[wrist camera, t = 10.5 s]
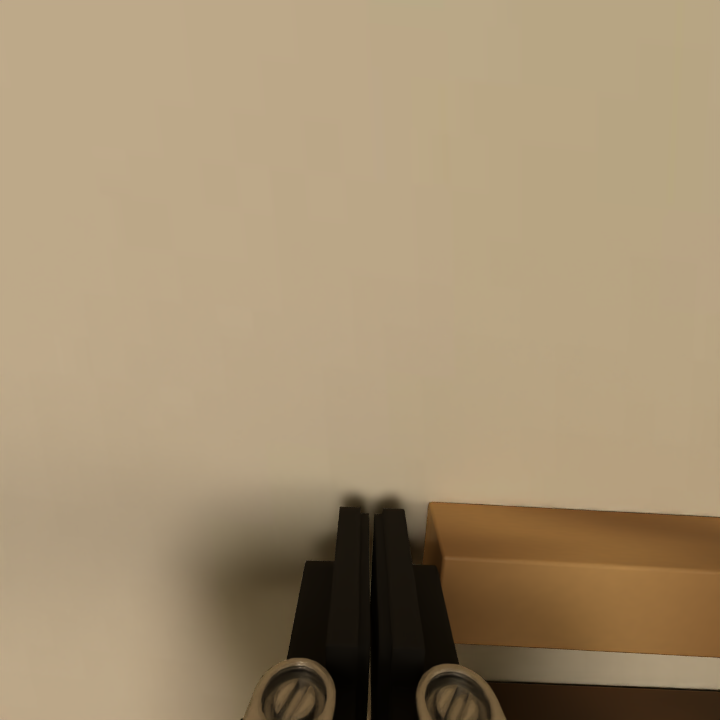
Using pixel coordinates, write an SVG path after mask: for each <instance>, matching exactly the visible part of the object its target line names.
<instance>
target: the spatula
mask: <svg viewBox="0 0 720 720" xmlns="http://www.w3.org/2000/svg"><path fill="white" fill-rule="evenodd" d="M422 565H436V567H437V570H438V573H439V578H440V582H441V587H442V591H443V595H444V600H445V604H446V609H447V613H448V618H449V622H450V627H451V631H452V636H453V640H454V643H455V644H473V645H492V646H511V647H530V648H548V649H567V650H586V651H605V652H623V653H642V654H661V655H680V656H698V657H717V658H720V518H719V517H701V516H682V515H663V514H645V513H626V512H608V511H589V510H570V509H552V508H533V507H515V506H496V505H477V504H459V503H440V502H430V503H429V506H428V516H427V525H426V535H425V544H424V554H423V563H422Z"/></svg>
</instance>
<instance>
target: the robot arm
mask: <svg viewBox="0 0 720 720" xmlns="http://www.w3.org/2000/svg"><path fill="white" fill-rule="evenodd" d="M369 665H370V667H371V720H506V718H505V715H504V713H503V711H502V708H501V706H500V704H499V701H498V699H497V697H496V695H495V694H494V692H493V690H492V689H491V687H490V685H489V684H488V683H487V682H486V681H485V680H484V679H483V678H482V677H481V676H480V675H478V674H477V673H475V672H474V671H472V670H470V669H469V668H466V667H463V666H460V665H459V662H458V658H457V653H456V649H455V644H454V640H453V636H452V631H451V627H450V622H449V618H448V613H447V609H446V604H445V600H444V595H443V591H442V587H441V582H440V578H439V573H438V570H437V567H436V565H415V564H412V558H411V551H410V545H409V538H408V531H407V524H406V518H405V511H404V509H389V508H383V511H382V514H375V515H374V532H373V552H372V572H371V592H370V573H369V514H368V513H361V507H340V510H339V520H338V530H337V540H336V551H335V561H312V560H306V562H305V566H304V571H303V576H302V581H301V587H300V592H299V597H298V603H297V608H296V613H295V618H294V624H293V629H292V634H291V639H290V645H289V650H288V655H287V660H284V661H281V662H280V663H278V664H276V665H274V666H273V667H271V668H270V669H269V670H268V671H267V672H266V673H265V674H264V675H263V676H262V677H261V679H260V681H259V682H258V684H257V686H256V688H255V690H254V692H253V695H252V697H251V700H250V702H249V705H248V707H247V710H246V712H245V715H244V717H243V718H242V719H241V720H367V703H368V684H369Z"/></svg>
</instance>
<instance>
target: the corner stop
mask: <svg viewBox="0 0 720 720" xmlns="http://www.w3.org/2000/svg"><path fill="white" fill-rule="evenodd" d="M487 683H488V684H489V685H490V687H491V689H492V690H493V692H494V694H495V695H496V697H497V699H498V701H499V704H500V706H501V708H502V711H503V713H504V715H505V718H506V720H720V692H718V691H693V690H669V689H644V688H620V687H596V686H571V685H547V684H522V683H498V682H487Z"/></svg>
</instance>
